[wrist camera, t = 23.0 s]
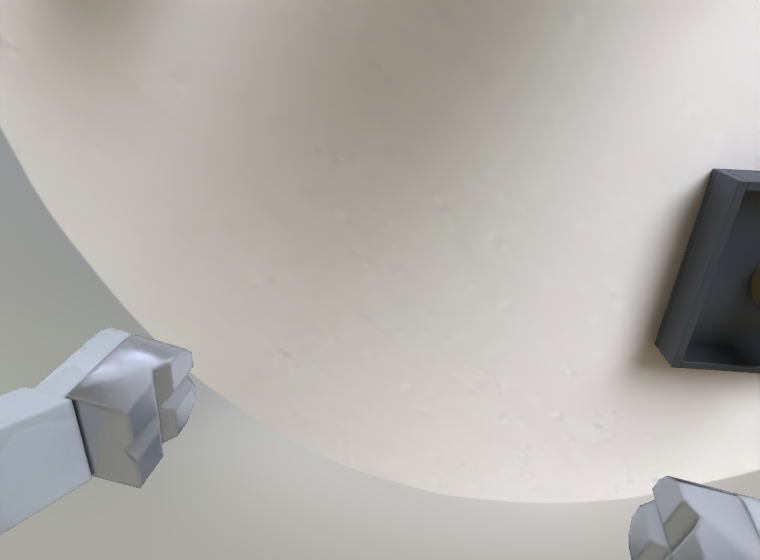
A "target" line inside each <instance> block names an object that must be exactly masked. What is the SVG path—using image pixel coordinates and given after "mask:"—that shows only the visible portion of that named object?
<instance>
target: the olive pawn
mask: <svg viewBox="0 0 760 560" xmlns="http://www.w3.org/2000/svg"><path fill="white" fill-rule="evenodd" d="M750 291H751V294H752V297H753V300H754V301H755V302H756V303H757V304H758V305H759V306H760V264H759V265H758V266H757V268H756V270H755V272H754V274H753V276H752V278H751V286H750Z"/></svg>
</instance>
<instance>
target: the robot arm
mask: <svg viewBox="0 0 760 560" xmlns="http://www.w3.org/2000/svg"><path fill="white" fill-rule="evenodd" d="M192 367H193V360H192V352H190V351H188V350H187V349H184V348H180V347H177V346H173V345H170V344H167V343H163V342H160V341H156V340H153V339H149V338H146V337H142V336H139V335H134V334H130V333H127V332H123V331H120V330H117V329H113V328H106V329H103V330H100V331H99V332H98V333H96V334H95V335H94V336H93V337H92V338H90V339H89V340H88V341H87V342H86V343H85V344H84V345H82V346H81V347H80V348H79V349H78V350H77V351H75V352H74V353H73V354H72V355H71V356H70V357H69V358H68V359H66V360H65V361H64V362H63V363H62V364H60V365H59V366H58V367H57V368H56V369H55V370H54V371H52V372H51V373H50V374H49V375H48V376H47V377H46V378H44V379H43V380H42V381H41V382H40V383H39V384H38V385H36V386H35V387H34V388H29V387H21V388H19V389H16V390H13V391H10V392H7V393H4V394H2V395H0V535H1V534H3V533H4V532H6V531H7V530H9V529H11V528H12V527H14V526H16V525H17V524H19V523H21V522H22V521H24V520H25V519H27V518H29V517H30V516H32V515H34V514H35V513H37V512H39V511H40V510H42V509H44V508H45V507H47V506H48V505H50V504H52V503H53V502H55V501H57V500H58V499H60V498H61V497H63V496H65V495H67V494H68V493H70V492H71V491H73V490H75V489H76V488H78V487H80V486H81V485H83V484H84V483H86V482H88V481H89V480H91V479H92V476H95V477H99V478H102V479H106V480H110V481H114V482H118V483H122V484H125V485H129V486H133V487H137V488H141V486H142V485H143V484H144V482H145V481H146V479H147V478H148V476H149V475H150V474H151V472H152V471H153V470H154V468H155V467H156V465H157V464H158V463H159V461H160V460H161V458H162V457H163V447H162V443H164V442H166V441H168V440H170V439H172V438H174V437H176V436H178V434H179V433H180V431H181V430H182V428H183V427H184V426H185V424H186V422H187V420H188V418H189V415H190V413H191V411H192V408H193V404H194V398H195V385H194V384H193V382H192V381H191V379H190V378H189V377H188V375H187V374H188V372H189V371H190V370H191V369H192ZM652 490H653V494H654V497H655V500H654V501H651V502H648V503H645V504H643V505H640V506H639V508H638V509H637V511H636V513H635V514H634V516H633V517H632V520H631V525H630V530H629V549H630V555H631V559H632V560H760V499H756V498H753V497H749V496H745V495H741V494H737V493H731V492H729V491H726V490H722V489H718V488H714V487H710V486H706V485H702V484H698V483H694V482H690V481H686V480H682V479H678V478H674V477H670V476H666V477H664V478H662V479H659V481H658V482H657V483H656V485H655V486H654V487H653V488H652Z"/></svg>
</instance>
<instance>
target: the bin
mask: <svg viewBox="0 0 760 560" xmlns="http://www.w3.org/2000/svg"><path fill="white" fill-rule="evenodd" d="M759 264H760V171H751V170H731V169H713V172H712V175H711V178H710V181H709V184H708V187H707V190H706V193H705V196H704V199H703V202H702V205H701V208H700V211H699V214H698V217H697V220H696V223H695V226H694V229H693V232H692V234H691V237H690V240H689V243H688V246H687V249H686V252H685V255H684V258H683V261H682V264H681V267H680V270H679V273H678V276H677V279H676V282H675V285H674V288H673V291H672V294H671V297H670V300H669V303H668V306H667V309H666V312H665V315H664V318H663V321H662V324H661V327H660V330H659V333H658V336H657V339H656V342H655V345H656V347H657V348H658V349H659V351H660V352H661V353H662V355H663V356H664V357H665V359H666V360H667V361H668V363H669V364H670V366H671V367H676V368H692V369H706V370H720V371H734V372H749V373H760V306H759V305H758V304H757V303H756V302H755V301H754V300H753V297H752V294H751V291H750V286H751V278H752V276H753V274H754V272H755V270H756V268H757V266H758V265H759Z"/></svg>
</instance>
